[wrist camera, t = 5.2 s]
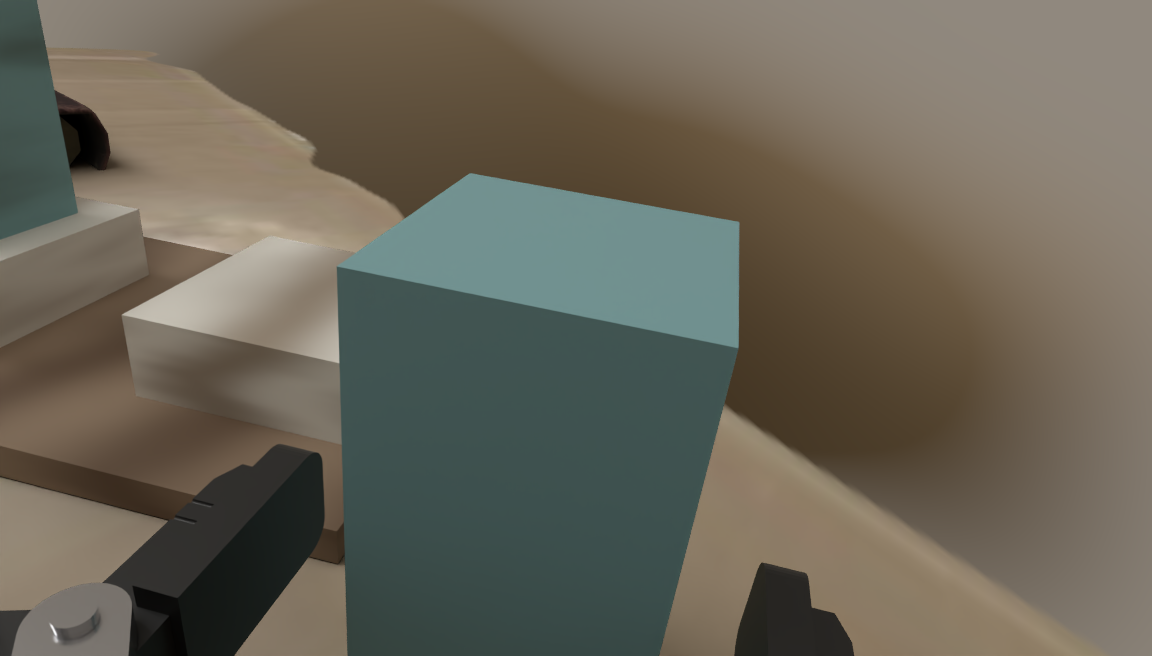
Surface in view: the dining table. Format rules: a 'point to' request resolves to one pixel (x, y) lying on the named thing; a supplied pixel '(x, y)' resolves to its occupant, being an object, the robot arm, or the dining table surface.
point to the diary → (82, 133)
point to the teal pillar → (528, 419)
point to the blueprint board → (126, 431)
